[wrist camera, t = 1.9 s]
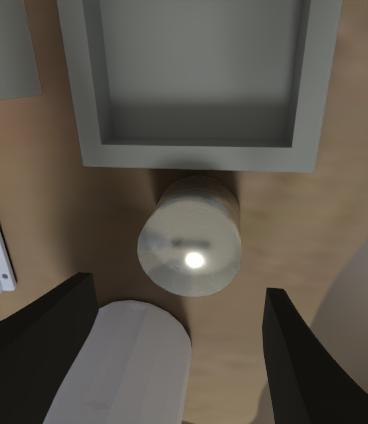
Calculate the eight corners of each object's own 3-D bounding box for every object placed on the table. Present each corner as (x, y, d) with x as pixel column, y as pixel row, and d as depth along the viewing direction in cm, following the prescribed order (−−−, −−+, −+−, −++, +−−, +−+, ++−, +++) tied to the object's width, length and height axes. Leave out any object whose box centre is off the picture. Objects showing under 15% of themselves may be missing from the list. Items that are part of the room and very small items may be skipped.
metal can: (237, 251, 21) (238, 300, 16) (160, 246, 22) (141, 292, 17) (242, 176, 19) (244, 209, 14) (156, 173, 19) (132, 204, 15)
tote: (301, 157, 17) (313, 172, 15) (104, 153, 19) (83, 166, 17) (343, -130, 12) (373, -185, 10) (72, -100, 14) (33, -140, 12)
